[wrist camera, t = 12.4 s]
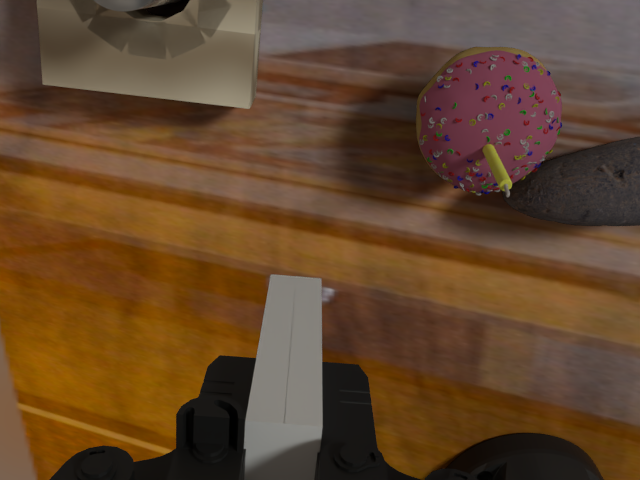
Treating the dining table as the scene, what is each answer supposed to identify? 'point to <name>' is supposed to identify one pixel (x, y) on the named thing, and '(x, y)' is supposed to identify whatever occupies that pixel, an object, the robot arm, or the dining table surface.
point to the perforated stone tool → (584, 187)
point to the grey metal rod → (132, 4)
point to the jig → (154, 50)
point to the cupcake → (488, 118)
